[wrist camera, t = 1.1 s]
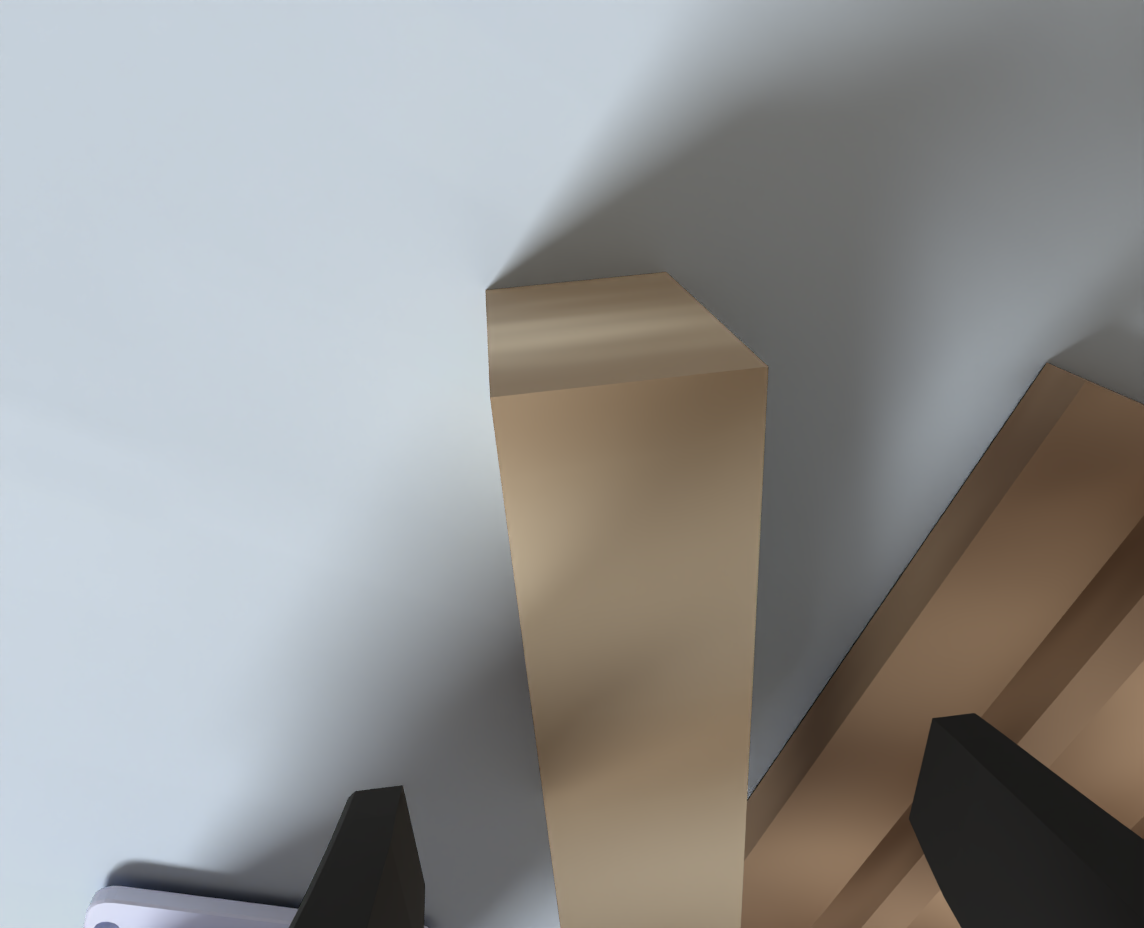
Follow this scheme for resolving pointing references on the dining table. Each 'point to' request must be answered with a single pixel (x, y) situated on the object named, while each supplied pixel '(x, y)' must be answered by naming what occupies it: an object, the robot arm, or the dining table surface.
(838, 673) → the picture ledge
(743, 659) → the beige long rectangular block
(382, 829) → the robot arm
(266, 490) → the dining table surface
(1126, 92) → the dining table surface
